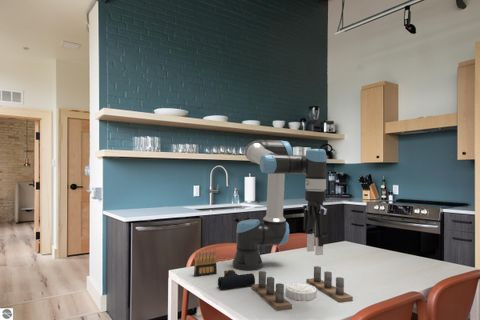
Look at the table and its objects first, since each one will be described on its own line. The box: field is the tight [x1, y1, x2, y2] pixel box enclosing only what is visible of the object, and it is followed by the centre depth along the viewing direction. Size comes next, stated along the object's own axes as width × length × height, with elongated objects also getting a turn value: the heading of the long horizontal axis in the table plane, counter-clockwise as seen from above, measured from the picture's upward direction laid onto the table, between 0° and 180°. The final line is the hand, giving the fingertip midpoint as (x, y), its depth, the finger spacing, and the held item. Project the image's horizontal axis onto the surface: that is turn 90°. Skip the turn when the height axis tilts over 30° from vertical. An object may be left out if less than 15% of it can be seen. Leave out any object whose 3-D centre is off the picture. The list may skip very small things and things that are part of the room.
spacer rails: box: [251, 265, 354, 312], centre depth 138 cm, size 24×32×8 cm
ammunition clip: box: [193, 248, 218, 278], centre depth 161 cm, size 11×2×12 cm, turn 117°
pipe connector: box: [217, 269, 256, 291], centre depth 148 cm, size 12×5×15 cm
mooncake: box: [285, 282, 318, 302], centre depth 137 cm, size 12×12×4 cm
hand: (314, 252), depth 128 cm, fingers open, 5 cm apart
